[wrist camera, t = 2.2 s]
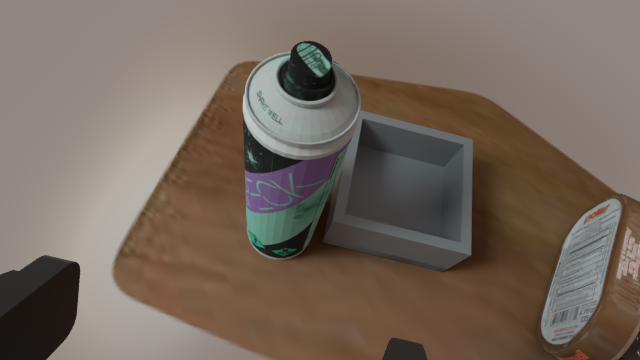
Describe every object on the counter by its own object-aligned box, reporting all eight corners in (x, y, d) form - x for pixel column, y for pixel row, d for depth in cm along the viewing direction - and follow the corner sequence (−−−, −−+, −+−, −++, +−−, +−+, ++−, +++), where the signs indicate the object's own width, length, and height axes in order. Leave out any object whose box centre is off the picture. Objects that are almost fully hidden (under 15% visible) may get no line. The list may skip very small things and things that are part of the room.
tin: (553, 377, 31) (646, 376, 24) (517, 354, 32) (597, 344, 24) (593, 230, 38) (676, 193, 31) (563, 212, 39) (638, 171, 31)
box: (447, 167, 39) (473, 139, 34) (442, 272, 34) (471, 255, 29) (343, 140, 38) (355, 108, 34) (322, 242, 33) (332, 221, 29)
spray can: (260, 190, 35) (268, -9, 17) (320, 210, 35) (389, 31, 17) (236, 248, 32) (218, 83, 14) (301, 269, 32) (361, 130, 14)
